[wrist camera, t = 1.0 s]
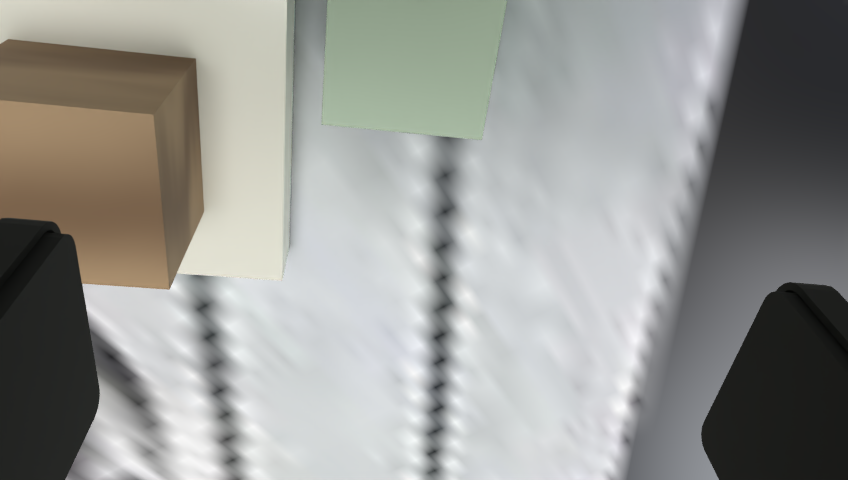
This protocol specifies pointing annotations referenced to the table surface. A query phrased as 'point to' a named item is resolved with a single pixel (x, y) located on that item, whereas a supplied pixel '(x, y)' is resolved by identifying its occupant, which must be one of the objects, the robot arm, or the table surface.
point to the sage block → (411, 65)
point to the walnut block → (103, 155)
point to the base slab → (207, 107)
